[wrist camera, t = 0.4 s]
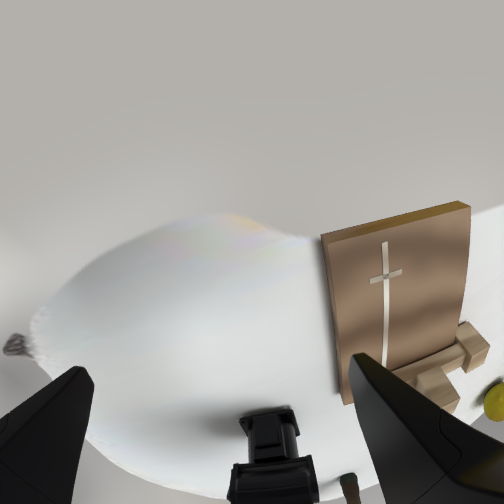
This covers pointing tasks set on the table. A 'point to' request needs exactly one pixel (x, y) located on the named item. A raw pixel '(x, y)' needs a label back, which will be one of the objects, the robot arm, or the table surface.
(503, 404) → the lemon
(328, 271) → the board
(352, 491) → the potato masher grenade
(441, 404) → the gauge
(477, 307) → the table surface
